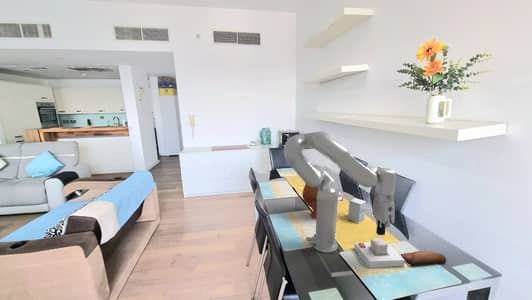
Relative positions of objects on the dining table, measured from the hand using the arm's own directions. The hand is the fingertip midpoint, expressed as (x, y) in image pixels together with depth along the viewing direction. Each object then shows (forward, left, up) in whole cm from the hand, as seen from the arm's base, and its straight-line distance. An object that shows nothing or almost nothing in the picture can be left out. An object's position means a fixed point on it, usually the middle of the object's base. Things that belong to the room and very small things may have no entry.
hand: (380, 234), depth 102 cm
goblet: (-17, +42, -12) cm, 46 cm away
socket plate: (0, 0, -12) cm, 12 cm away
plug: (0, 0, -12) cm, 12 cm away
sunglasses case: (+19, -3, -12) cm, 23 cm away
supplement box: (+7, +36, -12) cm, 39 cm away
